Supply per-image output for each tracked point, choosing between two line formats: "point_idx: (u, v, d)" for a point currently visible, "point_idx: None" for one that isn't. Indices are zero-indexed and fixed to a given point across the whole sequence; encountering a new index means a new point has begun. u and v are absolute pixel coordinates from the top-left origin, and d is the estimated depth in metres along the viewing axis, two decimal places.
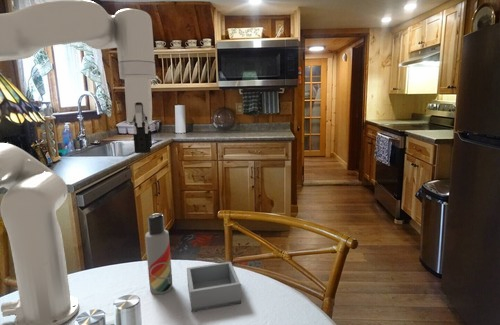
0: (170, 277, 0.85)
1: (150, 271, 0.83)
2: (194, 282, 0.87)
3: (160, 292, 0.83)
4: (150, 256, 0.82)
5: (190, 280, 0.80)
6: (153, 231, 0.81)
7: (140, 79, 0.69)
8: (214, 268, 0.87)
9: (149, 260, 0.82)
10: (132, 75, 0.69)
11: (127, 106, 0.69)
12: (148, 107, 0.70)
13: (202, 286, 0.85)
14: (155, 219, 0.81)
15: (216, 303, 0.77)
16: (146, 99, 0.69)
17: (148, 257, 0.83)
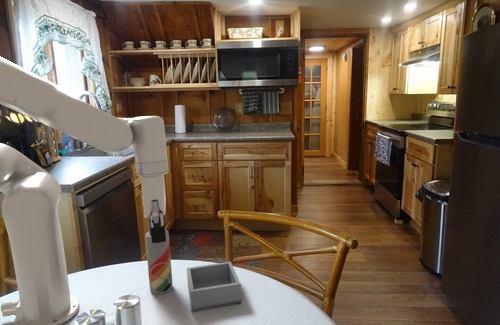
0: (170, 277, 0.85)
1: (150, 271, 0.83)
2: (194, 282, 0.87)
3: (160, 292, 0.83)
4: (150, 256, 0.82)
5: (190, 280, 0.80)
6: None
7: (155, 179, 0.77)
8: (214, 268, 0.87)
9: (149, 260, 0.82)
10: (148, 175, 0.77)
11: (144, 203, 0.77)
12: (163, 202, 0.78)
13: (202, 286, 0.85)
14: None
15: (216, 303, 0.77)
16: (161, 196, 0.78)
17: (148, 257, 0.83)
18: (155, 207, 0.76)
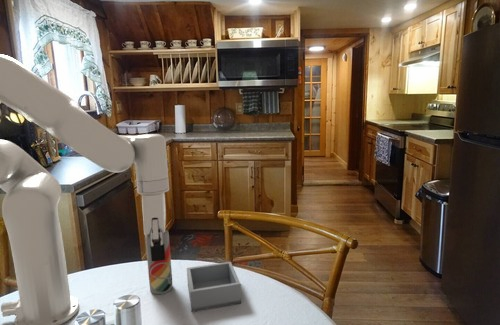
0: (170, 277, 0.85)
1: (150, 271, 0.83)
2: (194, 282, 0.87)
3: (160, 292, 0.83)
4: (150, 256, 0.82)
5: (190, 280, 0.80)
6: None
7: (156, 197, 0.78)
8: (214, 268, 0.87)
9: (149, 260, 0.82)
10: (149, 193, 0.78)
11: (144, 221, 0.77)
12: (163, 220, 0.79)
13: (202, 286, 0.85)
14: None
15: (216, 303, 0.77)
16: (161, 214, 0.78)
17: (148, 257, 0.83)
18: (155, 229, 0.77)
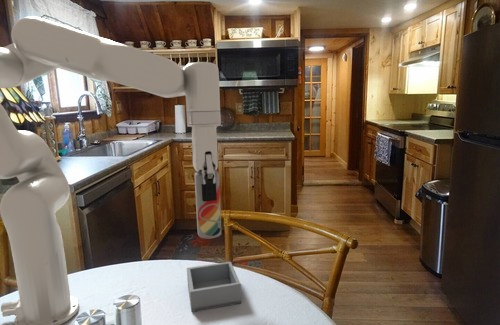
0: (220, 221, 0.79)
1: (200, 213, 0.77)
2: (194, 282, 0.87)
3: (210, 236, 0.77)
4: (200, 196, 0.76)
5: (190, 280, 0.80)
6: (204, 169, 0.76)
7: (209, 129, 0.72)
8: (214, 268, 0.87)
9: (199, 201, 0.76)
10: (202, 125, 0.72)
11: (197, 155, 0.71)
12: (216, 155, 0.73)
13: (202, 286, 0.85)
14: None
15: (216, 303, 0.77)
16: (214, 148, 0.72)
17: (198, 198, 0.77)
18: (210, 163, 0.71)
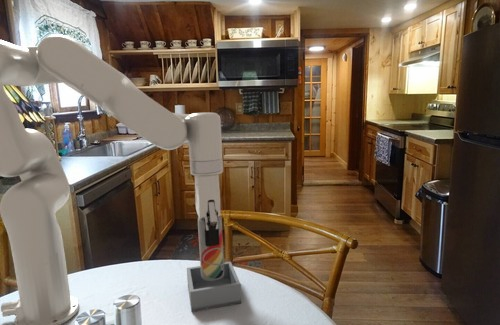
0: (223, 263, 0.81)
1: (203, 257, 0.79)
2: (194, 282, 0.87)
3: (213, 279, 0.79)
4: (203, 241, 0.78)
5: (190, 280, 0.80)
6: (207, 215, 0.77)
7: (212, 178, 0.74)
8: None
9: (202, 245, 0.78)
10: (204, 174, 0.74)
11: (200, 203, 0.73)
12: (219, 203, 0.75)
13: (202, 286, 0.85)
14: None
15: (216, 303, 0.77)
16: (217, 196, 0.74)
17: (201, 242, 0.79)
18: (212, 212, 0.73)
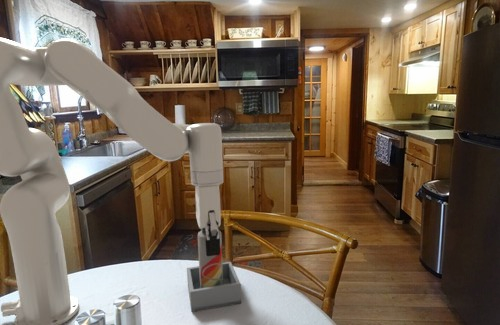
0: (222, 278, 0.82)
1: (202, 272, 0.80)
2: (194, 282, 0.87)
3: None
4: (203, 256, 0.79)
5: (190, 280, 0.80)
6: None
7: (213, 189, 0.74)
8: None
9: (202, 261, 0.80)
10: (205, 184, 0.74)
11: (201, 214, 0.74)
12: (219, 213, 0.75)
13: None
14: None
15: (216, 303, 0.77)
16: (217, 207, 0.75)
17: (201, 257, 0.80)
18: (213, 220, 0.73)
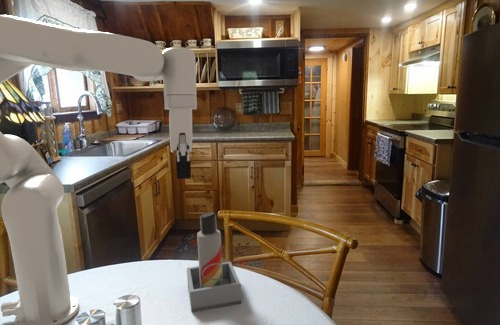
0: (222, 278, 0.82)
1: (202, 272, 0.80)
2: (194, 282, 0.87)
3: None
4: (203, 257, 0.79)
5: (190, 280, 0.80)
6: (206, 231, 0.79)
7: (184, 112, 0.75)
8: None
9: (201, 261, 0.80)
10: (177, 107, 0.75)
11: (172, 136, 0.75)
12: (190, 137, 0.76)
13: None
14: (209, 218, 0.78)
15: (216, 303, 0.77)
16: (188, 130, 0.76)
17: (200, 258, 0.80)
18: (183, 139, 0.74)
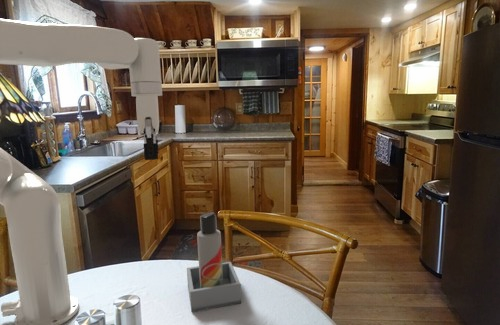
0: (222, 278, 0.82)
1: (202, 272, 0.80)
2: (194, 282, 0.87)
3: None
4: (203, 257, 0.79)
5: (190, 280, 0.80)
6: (206, 231, 0.79)
7: (149, 97, 0.81)
8: None
9: (201, 261, 0.80)
10: (142, 94, 0.81)
11: (138, 120, 0.81)
12: (156, 121, 0.82)
13: None
14: (209, 218, 0.78)
15: (216, 303, 0.77)
16: (154, 114, 0.82)
17: (200, 258, 0.80)
18: (148, 122, 0.80)
